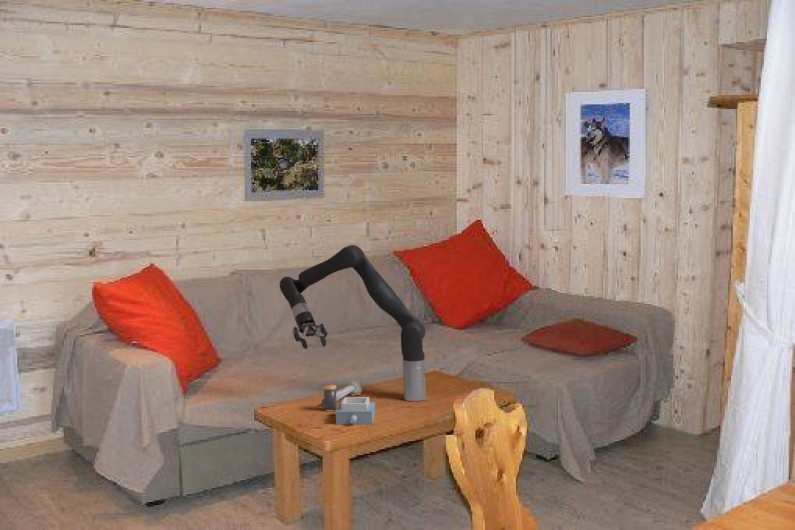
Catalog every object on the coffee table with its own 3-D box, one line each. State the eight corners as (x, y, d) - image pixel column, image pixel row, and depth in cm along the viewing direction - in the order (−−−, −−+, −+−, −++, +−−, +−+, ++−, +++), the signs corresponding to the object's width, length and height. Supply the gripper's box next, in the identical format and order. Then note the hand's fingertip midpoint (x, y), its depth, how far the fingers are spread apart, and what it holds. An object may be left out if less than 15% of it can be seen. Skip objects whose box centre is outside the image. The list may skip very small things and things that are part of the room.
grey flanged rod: (319, 397, 373) (353, 377, 393) (321, 412, 375) (355, 391, 395) (329, 399, 370) (363, 378, 391) (331, 414, 372) (364, 392, 392)
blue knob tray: (375, 414, 359) (374, 395, 358) (371, 426, 342) (370, 407, 341) (340, 414, 360) (340, 396, 359) (335, 426, 343) (334, 407, 342)
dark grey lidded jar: (338, 408, 370) (337, 384, 369) (336, 411, 364) (335, 387, 363) (325, 408, 370) (324, 384, 369) (323, 411, 365) (322, 387, 364)
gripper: (290, 312, 376) (303, 343, 368) (320, 309, 384) (333, 339, 375) (285, 323, 381) (297, 353, 373) (315, 319, 389) (328, 349, 380)
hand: (315, 346), depth 374 cm, fingers open, 8 cm apart
